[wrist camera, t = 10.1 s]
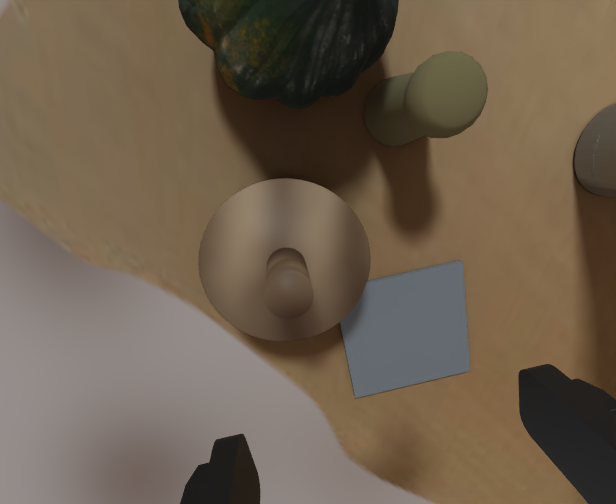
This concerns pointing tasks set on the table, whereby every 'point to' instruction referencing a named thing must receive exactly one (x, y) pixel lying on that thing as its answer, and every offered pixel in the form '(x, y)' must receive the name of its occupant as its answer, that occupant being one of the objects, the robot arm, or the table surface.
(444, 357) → the mat
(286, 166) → the table surface
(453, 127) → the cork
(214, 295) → the lid
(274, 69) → the squash
